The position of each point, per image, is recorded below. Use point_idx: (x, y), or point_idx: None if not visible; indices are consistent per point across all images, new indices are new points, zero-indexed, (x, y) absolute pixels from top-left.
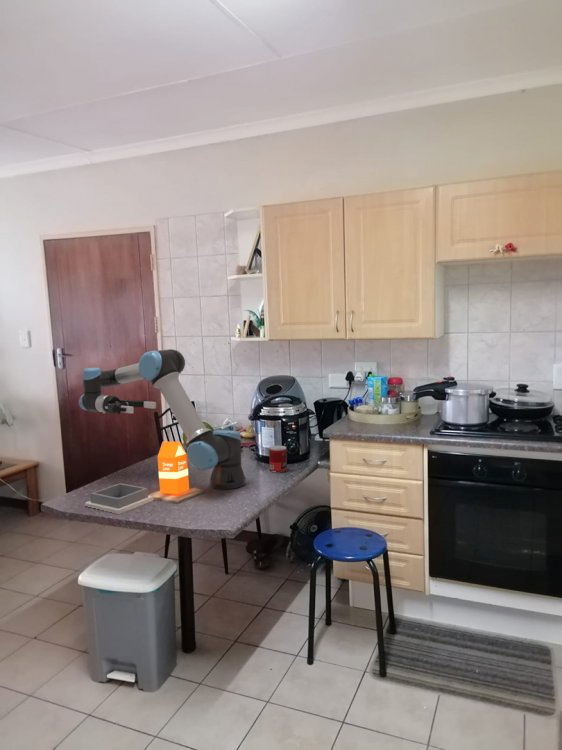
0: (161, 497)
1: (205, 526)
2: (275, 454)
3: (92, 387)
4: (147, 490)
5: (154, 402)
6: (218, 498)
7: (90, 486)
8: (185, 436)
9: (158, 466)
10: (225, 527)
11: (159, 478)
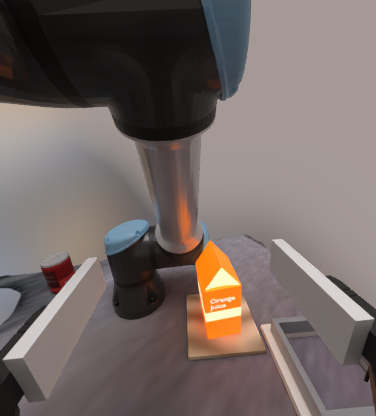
0: (249, 317)
1: (254, 245)
2: (69, 261)
3: None
4: (271, 321)
5: (96, 259)
6: (195, 273)
7: None
8: None
9: (240, 299)
10: (243, 238)
11: (240, 314)
